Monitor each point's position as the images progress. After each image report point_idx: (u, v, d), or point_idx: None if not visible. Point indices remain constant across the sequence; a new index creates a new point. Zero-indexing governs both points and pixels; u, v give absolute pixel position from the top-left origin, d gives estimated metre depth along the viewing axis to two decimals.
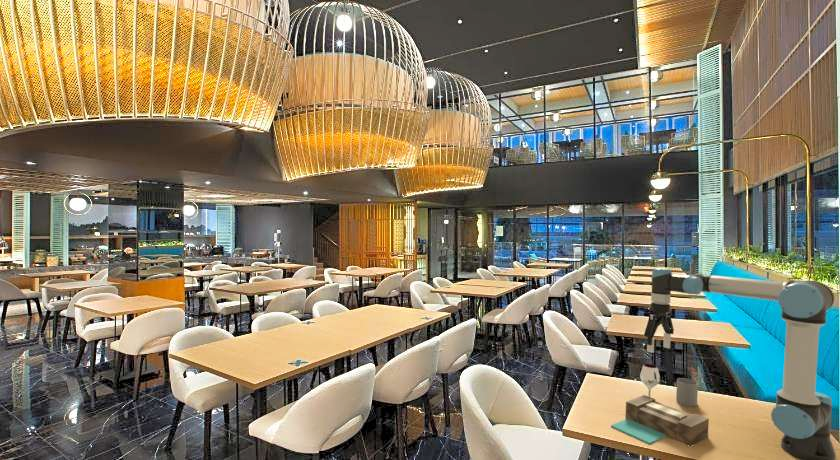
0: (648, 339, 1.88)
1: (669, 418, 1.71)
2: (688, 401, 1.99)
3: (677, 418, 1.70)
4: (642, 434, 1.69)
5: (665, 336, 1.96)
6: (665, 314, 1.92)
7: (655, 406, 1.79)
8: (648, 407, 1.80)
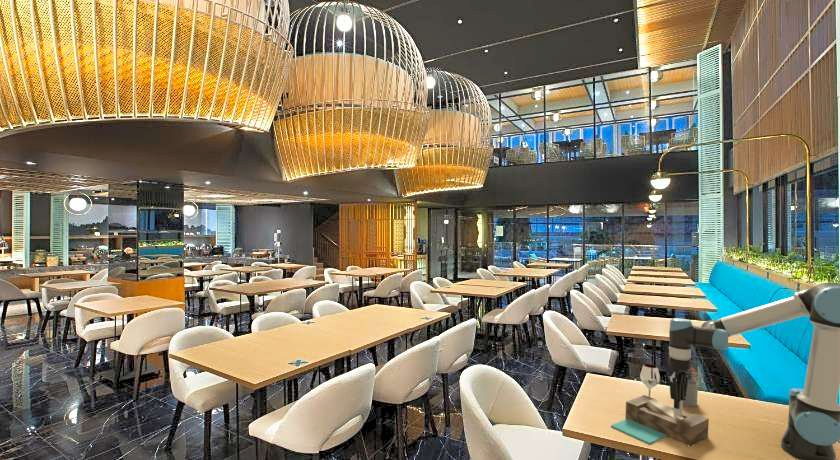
0: (675, 402, 1.72)
1: (669, 418, 1.71)
2: (688, 401, 1.99)
3: None
4: (642, 434, 1.69)
5: None
6: (685, 369, 1.73)
7: (657, 404, 1.79)
8: (650, 404, 1.79)
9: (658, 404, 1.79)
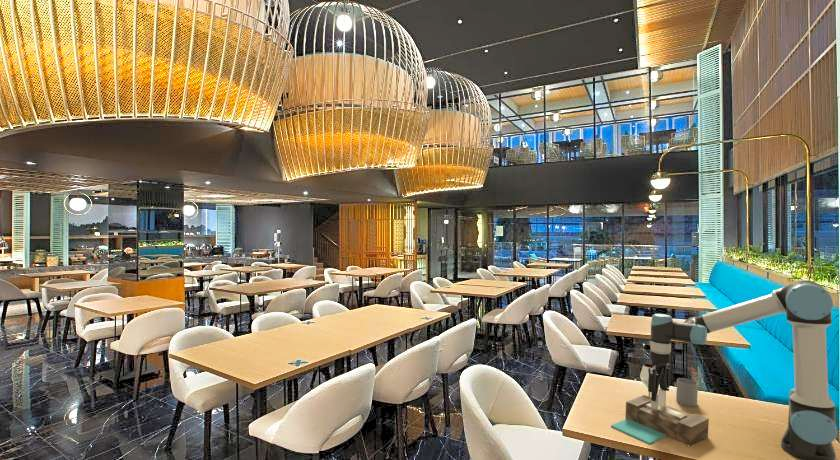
0: (652, 395, 1.77)
1: (669, 418, 1.71)
2: (688, 401, 1.99)
3: (677, 418, 1.70)
4: (642, 434, 1.69)
5: (660, 393, 1.81)
6: (666, 363, 1.79)
7: None
8: (648, 407, 1.80)
9: None
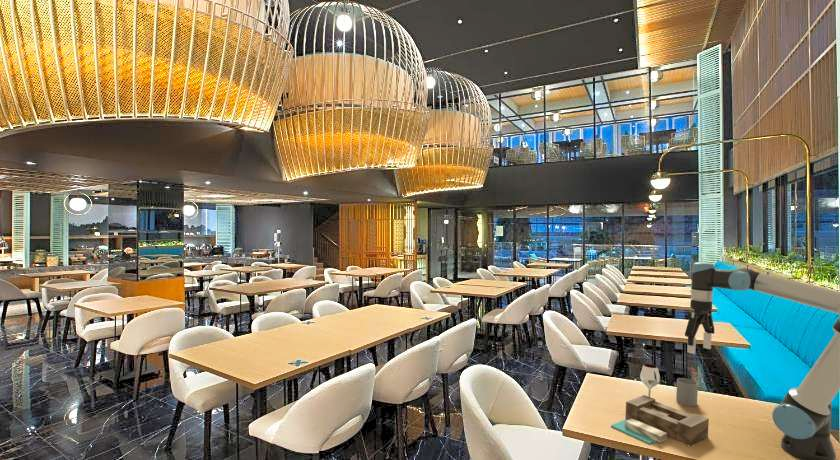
0: (689, 339, 1.73)
1: (669, 418, 1.71)
2: (688, 401, 1.99)
3: (656, 436, 1.64)
4: None
5: (705, 336, 1.82)
6: (706, 312, 1.78)
7: (635, 423, 1.73)
8: (628, 424, 1.74)
9: (635, 423, 1.74)
